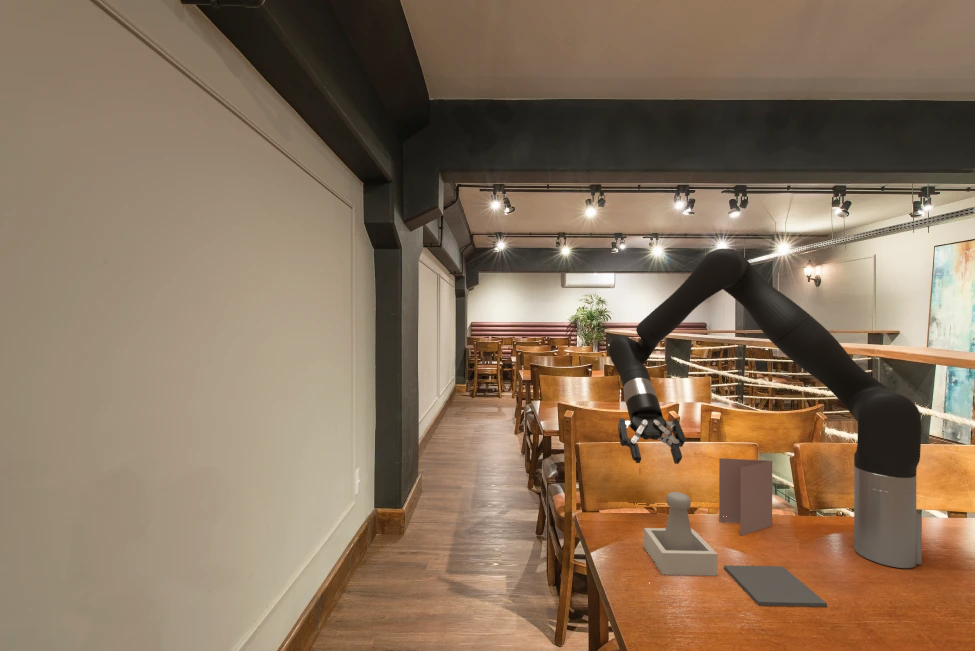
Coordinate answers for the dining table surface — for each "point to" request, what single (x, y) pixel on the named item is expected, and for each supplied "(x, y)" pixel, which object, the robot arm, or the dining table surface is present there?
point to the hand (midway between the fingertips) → (658, 461)
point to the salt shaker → (678, 524)
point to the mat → (774, 586)
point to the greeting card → (745, 493)
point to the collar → (680, 555)
